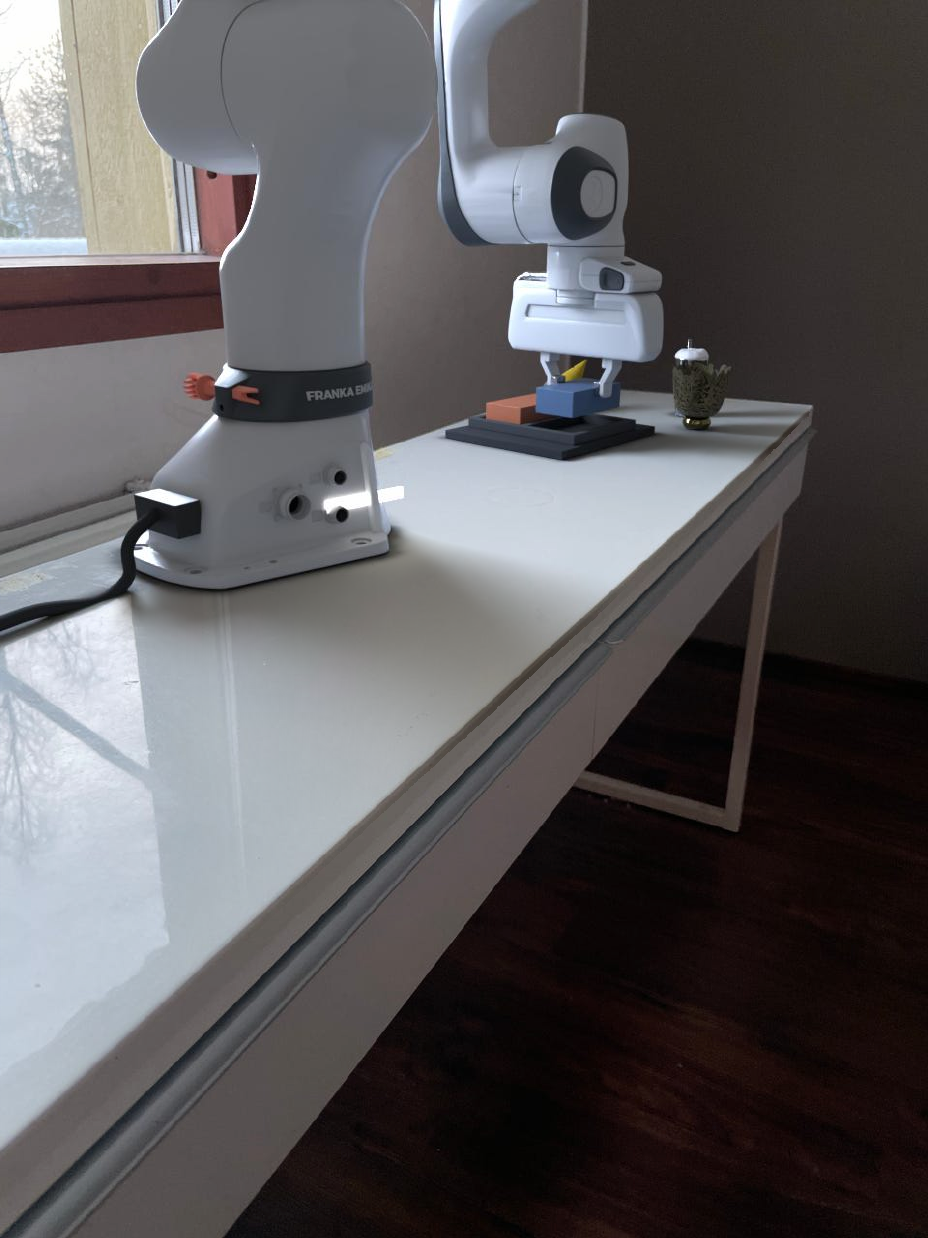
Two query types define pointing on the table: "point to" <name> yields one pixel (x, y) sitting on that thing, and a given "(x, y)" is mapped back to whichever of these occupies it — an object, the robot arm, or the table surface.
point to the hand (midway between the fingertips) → (579, 393)
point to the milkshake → (690, 359)
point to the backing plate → (552, 434)
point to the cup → (699, 393)
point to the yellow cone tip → (574, 372)
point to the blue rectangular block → (574, 398)
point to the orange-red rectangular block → (515, 410)
